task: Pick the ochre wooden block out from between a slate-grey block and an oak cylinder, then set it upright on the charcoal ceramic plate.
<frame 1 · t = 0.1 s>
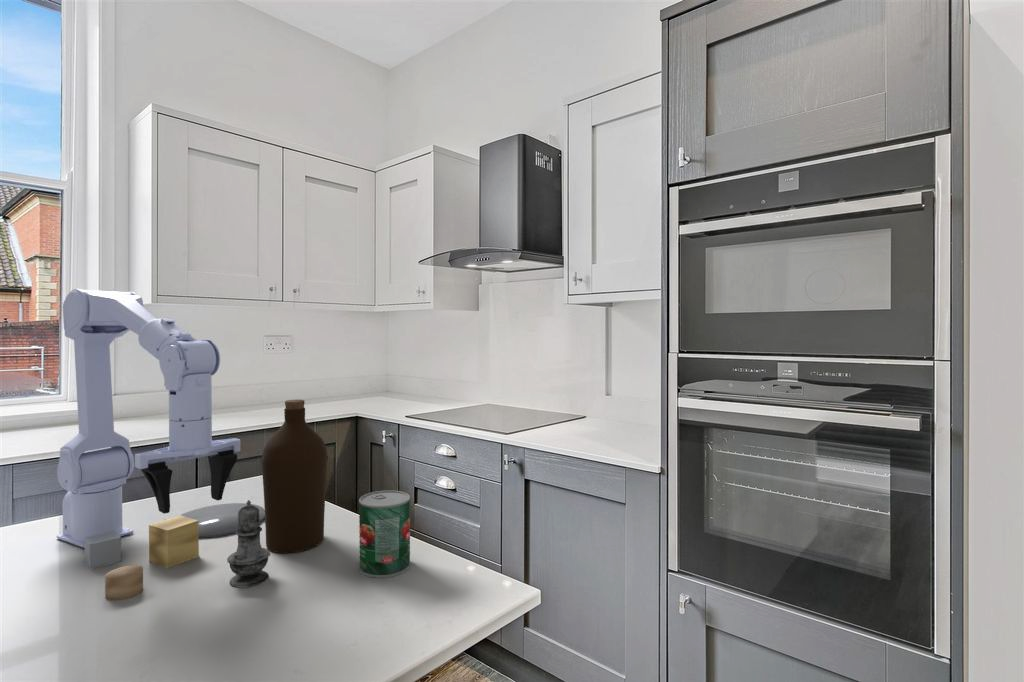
hand: (191, 505, 85), 10 cm above the countertop, fingers open, 7 cm apart
salt shaker: (249, 580, 82), on the countertop
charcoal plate: (219, 521, 105), on the countertop
oak cylinder: (124, 593, 78), on the countertop
olive oil: (296, 543, 96), on the countertop
ochre block: (174, 559, 89), on the countertop
canned tomato: (384, 567, 87), on the countertop
slate grey block: (102, 562, 88), on the countertop
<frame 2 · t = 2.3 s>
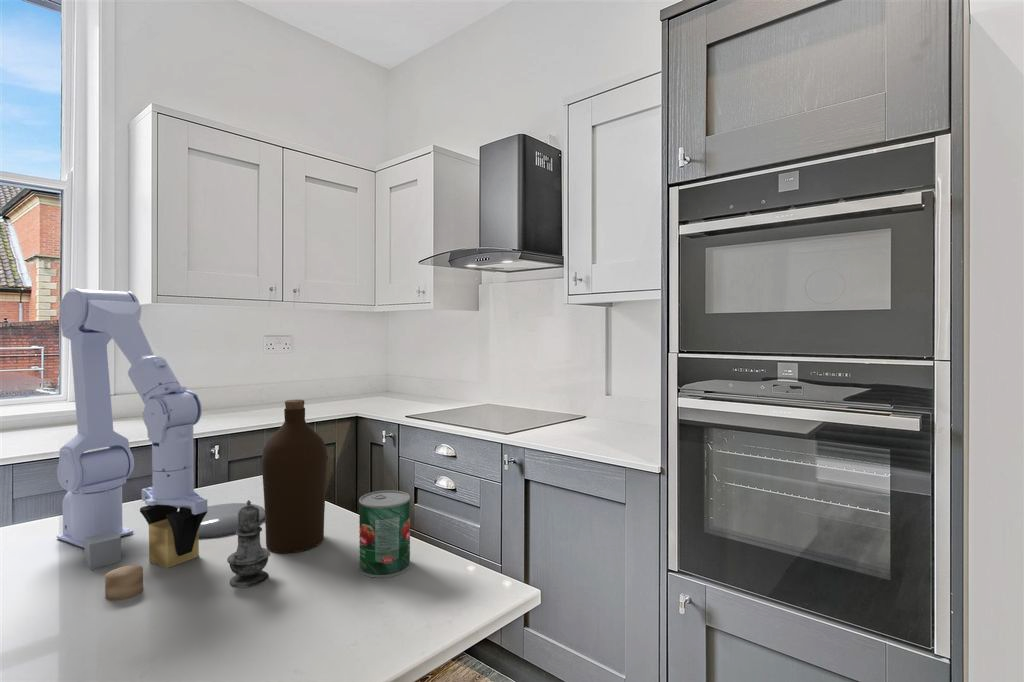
hand: (174, 550, 89), 1 cm above the countertop, fingers closed on ochre block, 5 cm apart
ochre block: (174, 558, 89), on the countertop, touching gripper
everything else where it was.
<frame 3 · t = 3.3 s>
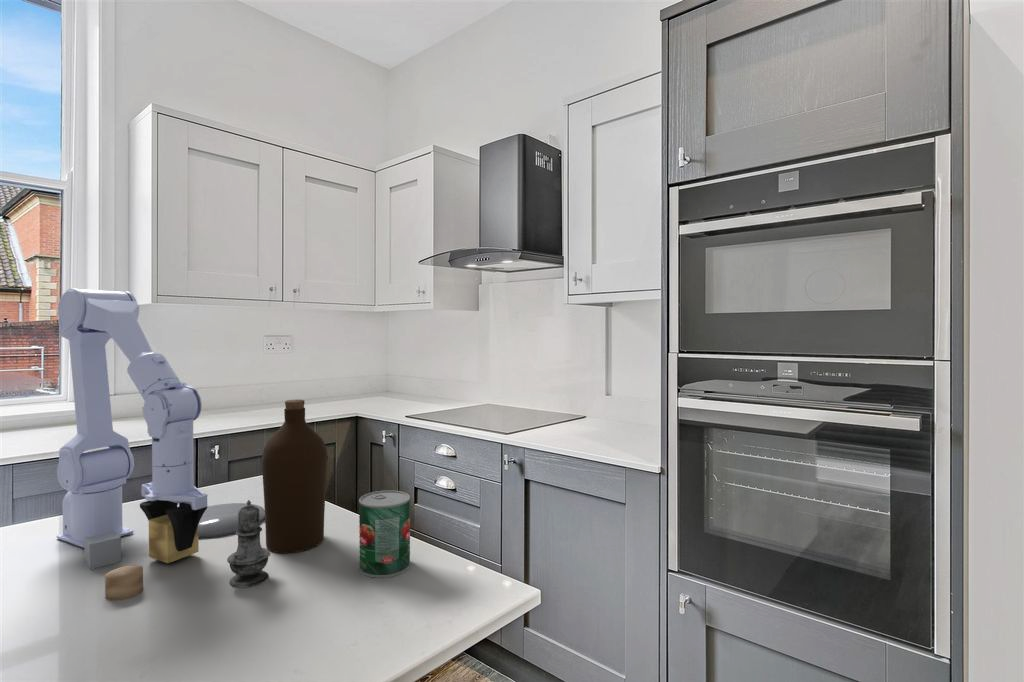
hand: (174, 545, 89), 2 cm above the countertop, fingers closed on ochre block, 5 cm apart
ochre block: (174, 554, 89), point 1 cm above the countertop, touching gripper
everything else where it was.
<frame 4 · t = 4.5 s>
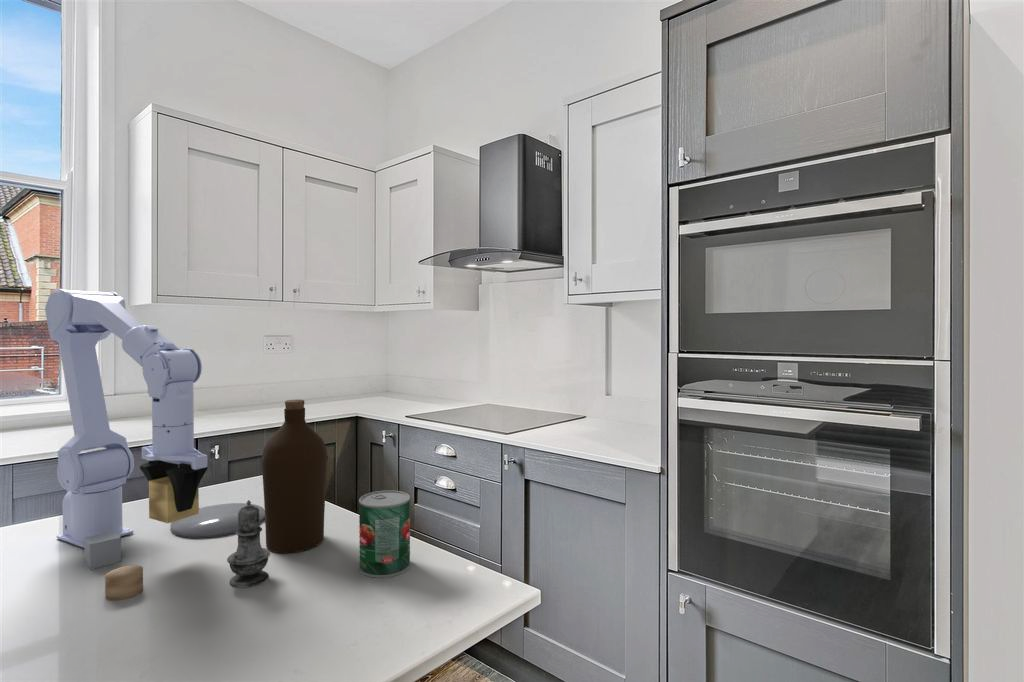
hand: (174, 507, 89), 8 cm above the countertop, fingers closed on ochre block, 5 cm apart
ochre block: (174, 515, 89), point 7 cm above the countertop, touching gripper
everything else where it was.
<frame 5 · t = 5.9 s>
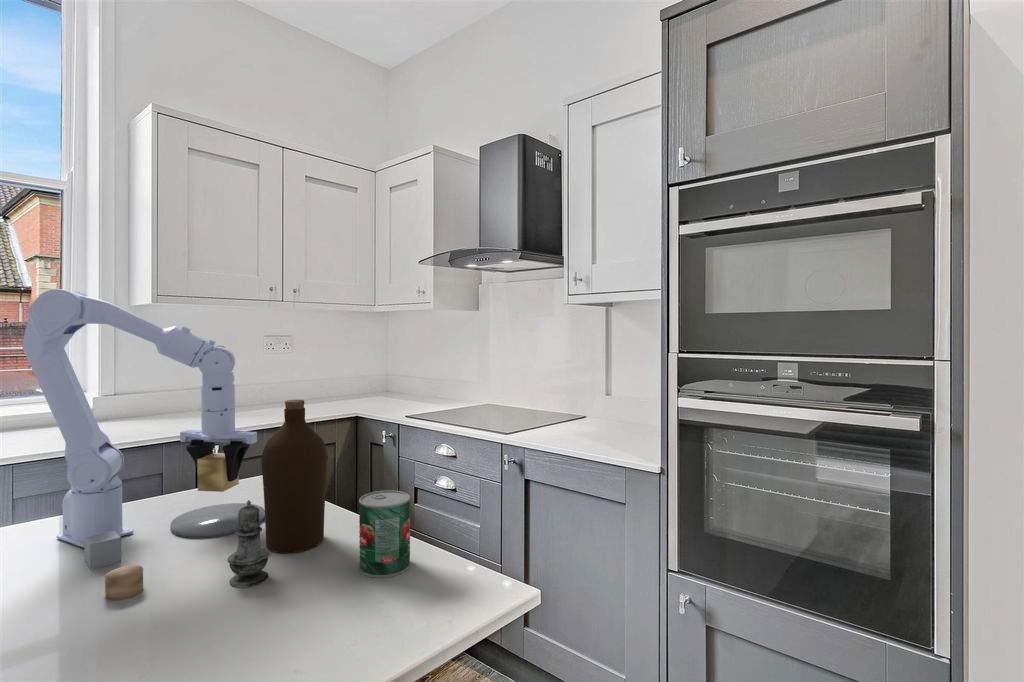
hand: (219, 479, 105), 8 cm above the countertop, fingers closed on ochre block, 5 cm apart
ochre block: (218, 487, 105), point 7 cm above the countertop, touching gripper
everything else where it was.
when the fingers open (4 cm above the countertop, at t = 7.1 s): ochre block drops 1 cm, resting on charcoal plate.
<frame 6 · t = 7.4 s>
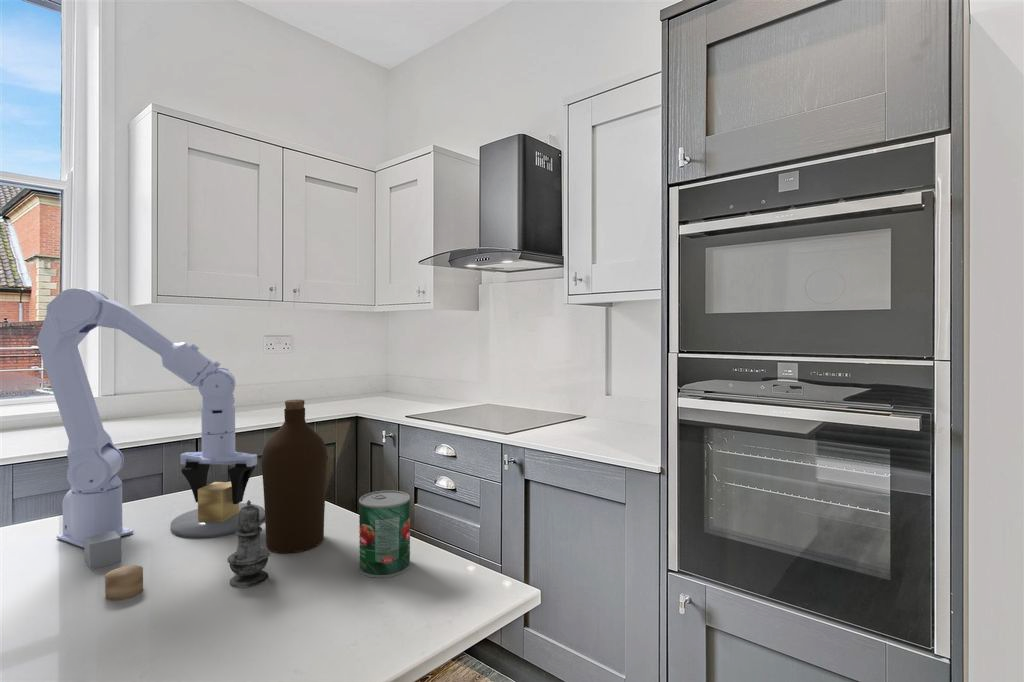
hand: (219, 501, 105), 4 cm above the countertop, fingers open, 7 cm apart
ochre block: (218, 516, 105), point 1 cm above the countertop, touching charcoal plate
everything else where it was.
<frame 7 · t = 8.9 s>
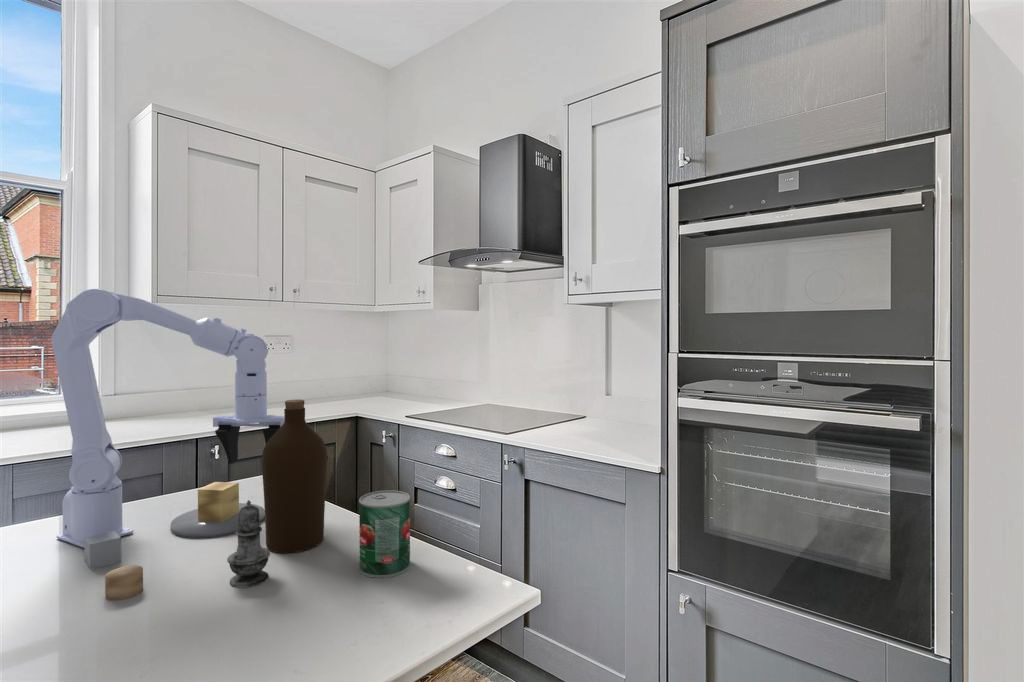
hand: (251, 462, 109), 11 cm above the countertop, fingers open, 7 cm apart
nothing on the countertop moved.
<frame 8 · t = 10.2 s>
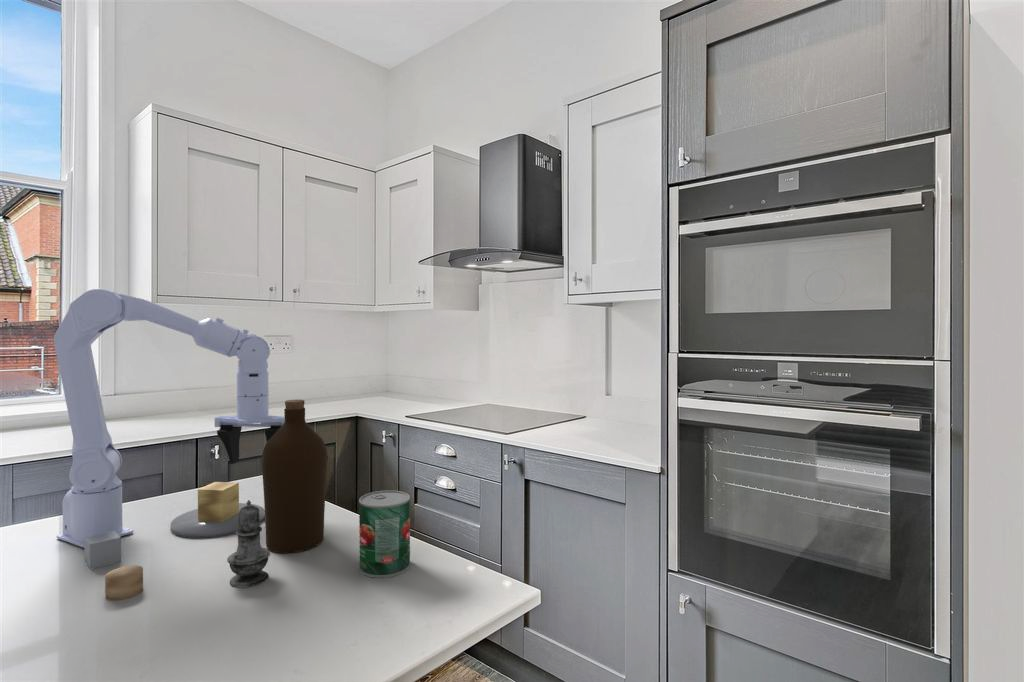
hand: (253, 462, 109), 10 cm above the countertop, fingers open, 7 cm apart
nothing on the countertop moved.
at the end: ochre block inside the target area on the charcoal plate (0.1 cm from its centre), point 1.0 cm above the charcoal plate's base; ochre block tilted 0°; the gripper is holding nothing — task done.
